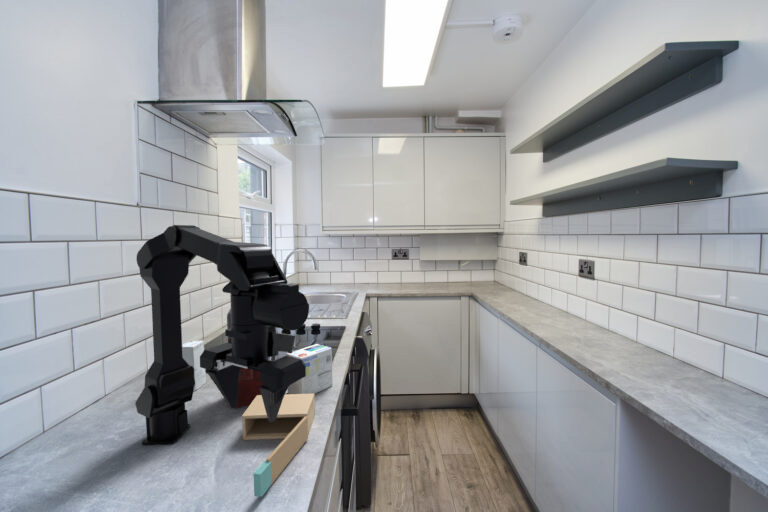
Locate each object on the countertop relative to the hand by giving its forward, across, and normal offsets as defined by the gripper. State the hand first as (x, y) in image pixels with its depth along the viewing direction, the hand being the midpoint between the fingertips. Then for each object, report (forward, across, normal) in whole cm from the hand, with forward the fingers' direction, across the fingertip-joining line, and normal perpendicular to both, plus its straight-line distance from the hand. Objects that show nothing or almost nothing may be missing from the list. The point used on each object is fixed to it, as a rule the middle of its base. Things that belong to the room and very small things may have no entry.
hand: (252, 413), depth 57 cm
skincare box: (+13, +45, -18) cm, 50 cm away
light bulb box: (+12, +14, -31) cm, 37 cm away
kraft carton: (+12, +8, -14) cm, 20 cm away
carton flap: (+11, -2, -5) cm, 12 cm away
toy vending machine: (+12, +24, -20) cm, 34 cm away
